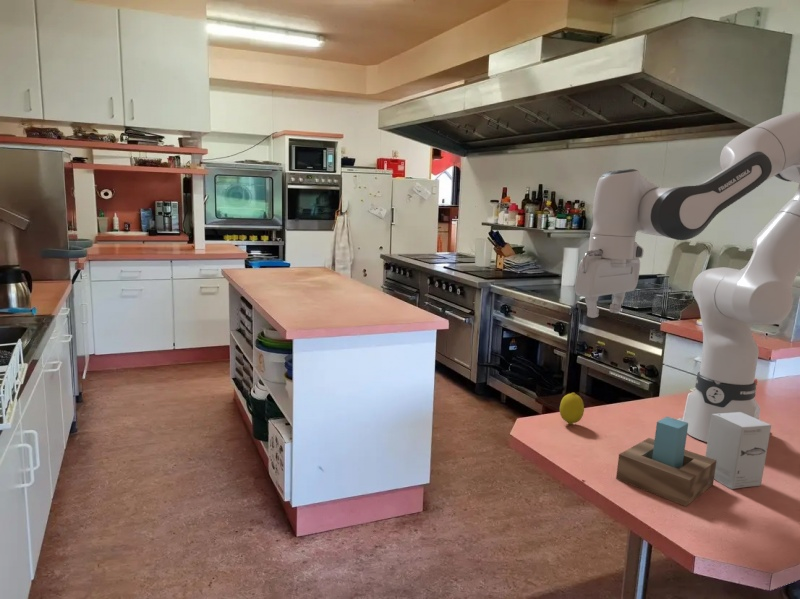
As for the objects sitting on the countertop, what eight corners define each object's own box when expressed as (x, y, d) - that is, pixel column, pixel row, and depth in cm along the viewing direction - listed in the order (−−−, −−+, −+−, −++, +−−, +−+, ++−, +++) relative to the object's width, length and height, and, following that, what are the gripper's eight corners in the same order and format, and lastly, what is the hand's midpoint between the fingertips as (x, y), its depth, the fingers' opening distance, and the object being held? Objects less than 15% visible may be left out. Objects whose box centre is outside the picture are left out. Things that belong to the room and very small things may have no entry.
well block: (646, 460, 120) (649, 437, 119) (713, 484, 110) (716, 460, 109) (616, 478, 111) (619, 454, 110) (685, 506, 102) (689, 480, 101)
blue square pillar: (659, 469, 113) (667, 416, 112) (680, 477, 111) (688, 423, 109) (649, 476, 110) (656, 421, 109) (671, 484, 108) (678, 428, 106)
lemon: (583, 430, 134) (586, 397, 133) (558, 427, 135) (562, 395, 134) (580, 421, 140) (584, 390, 138) (557, 419, 141) (560, 387, 139)
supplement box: (732, 490, 108) (742, 427, 106) (701, 472, 115) (710, 412, 113) (762, 486, 111) (773, 424, 108) (730, 469, 118) (740, 410, 115)
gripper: (600, 251, 110) (592, 322, 112) (647, 249, 123) (640, 312, 126) (570, 248, 114) (563, 317, 117) (619, 246, 128) (612, 307, 130)
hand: (603, 314), depth 121 cm, fingers open, 8 cm apart
